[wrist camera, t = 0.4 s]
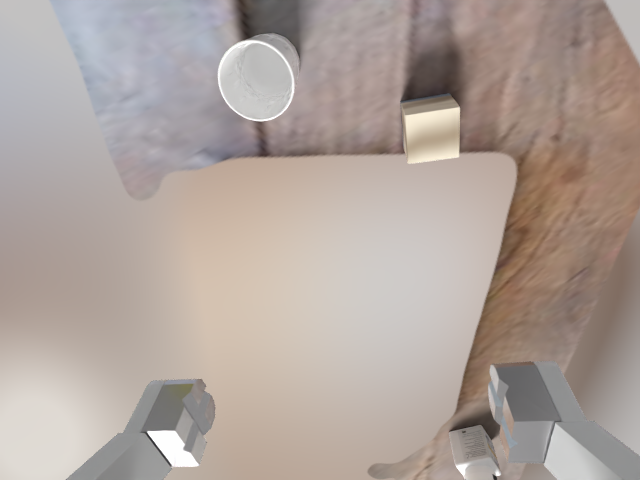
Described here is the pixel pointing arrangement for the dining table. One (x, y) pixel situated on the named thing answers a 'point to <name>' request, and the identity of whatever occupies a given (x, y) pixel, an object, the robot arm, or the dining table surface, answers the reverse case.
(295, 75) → the white cup
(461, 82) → the dining table surface
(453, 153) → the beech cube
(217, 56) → the dining table surface
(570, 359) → the dining table surface
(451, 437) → the container
